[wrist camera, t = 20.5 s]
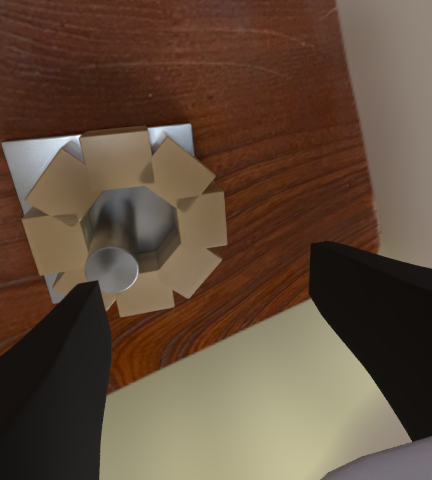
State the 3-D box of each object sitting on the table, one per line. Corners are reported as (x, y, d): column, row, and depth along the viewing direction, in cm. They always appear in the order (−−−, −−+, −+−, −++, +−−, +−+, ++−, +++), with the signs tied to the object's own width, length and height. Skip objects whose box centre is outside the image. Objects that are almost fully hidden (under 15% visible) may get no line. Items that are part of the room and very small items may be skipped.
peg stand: (189, 121, 18) (218, 136, 12) (204, 269, 22) (232, 340, 16) (6, 139, 17) (-69, 167, 11) (55, 295, 20) (21, 385, 14)
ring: (208, 118, 18) (219, 122, 15) (221, 275, 21) (231, 296, 19) (14, 138, 16) (-4, 145, 14) (65, 304, 20) (57, 329, 18)
